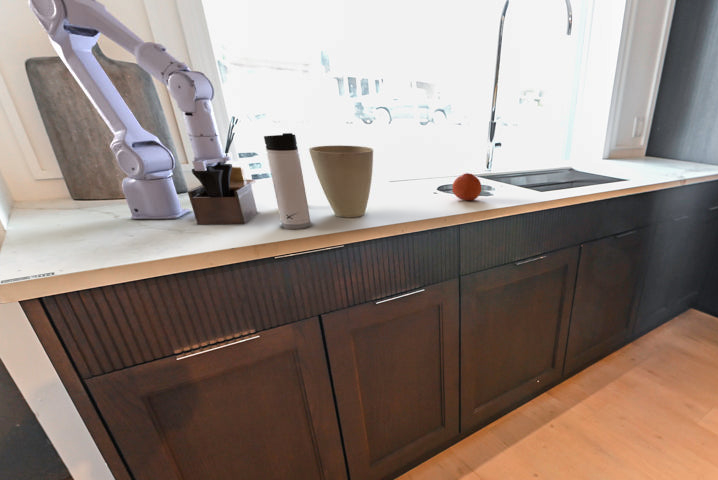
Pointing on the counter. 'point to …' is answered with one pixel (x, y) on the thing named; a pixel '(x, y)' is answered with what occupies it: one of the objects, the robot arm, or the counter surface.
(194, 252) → the counter surface
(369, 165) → the plant pot
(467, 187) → the fruit
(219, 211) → the box
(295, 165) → the travel mug
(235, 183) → the lid
